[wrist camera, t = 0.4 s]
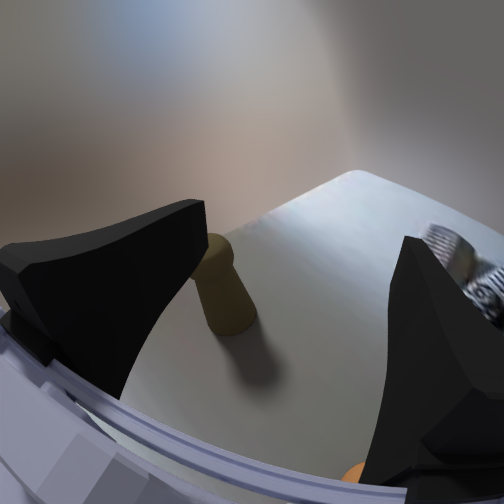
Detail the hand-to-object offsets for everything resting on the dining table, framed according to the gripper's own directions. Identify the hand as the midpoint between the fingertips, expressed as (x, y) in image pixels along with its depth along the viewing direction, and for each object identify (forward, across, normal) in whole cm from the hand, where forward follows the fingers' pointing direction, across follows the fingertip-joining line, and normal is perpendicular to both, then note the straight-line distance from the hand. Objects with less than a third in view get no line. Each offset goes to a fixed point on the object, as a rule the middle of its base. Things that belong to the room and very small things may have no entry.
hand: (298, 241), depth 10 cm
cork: (+14, +10, +21) cm, 27 cm away
